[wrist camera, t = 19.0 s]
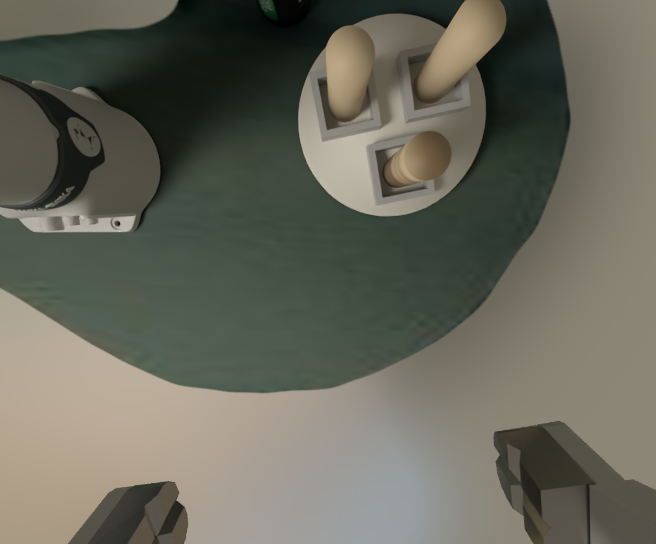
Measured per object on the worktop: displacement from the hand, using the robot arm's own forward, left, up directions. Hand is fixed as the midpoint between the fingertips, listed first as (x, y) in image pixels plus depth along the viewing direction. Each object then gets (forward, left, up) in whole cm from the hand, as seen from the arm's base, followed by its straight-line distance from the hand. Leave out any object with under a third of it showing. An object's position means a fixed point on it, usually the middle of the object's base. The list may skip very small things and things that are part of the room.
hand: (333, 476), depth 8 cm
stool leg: (+10, +9, -35) cm, 37 cm away
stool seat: (+10, +15, -37) cm, 41 cm away
